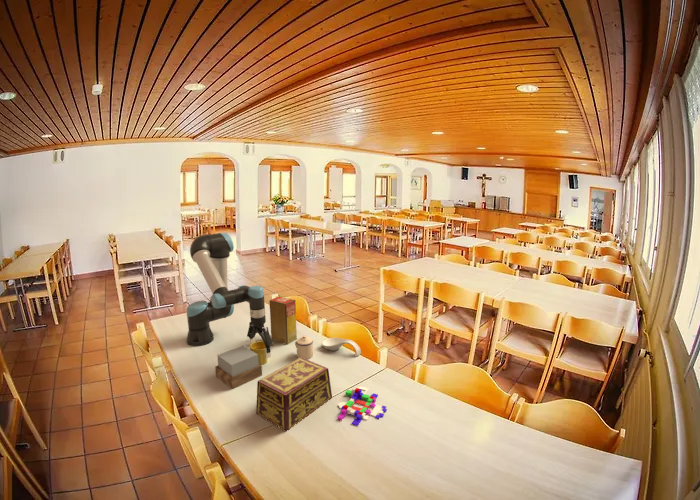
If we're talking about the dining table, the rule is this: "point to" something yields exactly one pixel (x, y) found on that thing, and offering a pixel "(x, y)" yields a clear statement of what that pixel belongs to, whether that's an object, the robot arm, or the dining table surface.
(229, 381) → the walnut base block
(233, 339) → the dining table surface
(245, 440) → the dining table surface
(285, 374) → the decorative box
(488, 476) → the dining table surface
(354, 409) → the building block set
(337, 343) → the spoon rest
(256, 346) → the plant pot
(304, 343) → the teacup with lid
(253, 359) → the grey top block
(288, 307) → the food packaging
